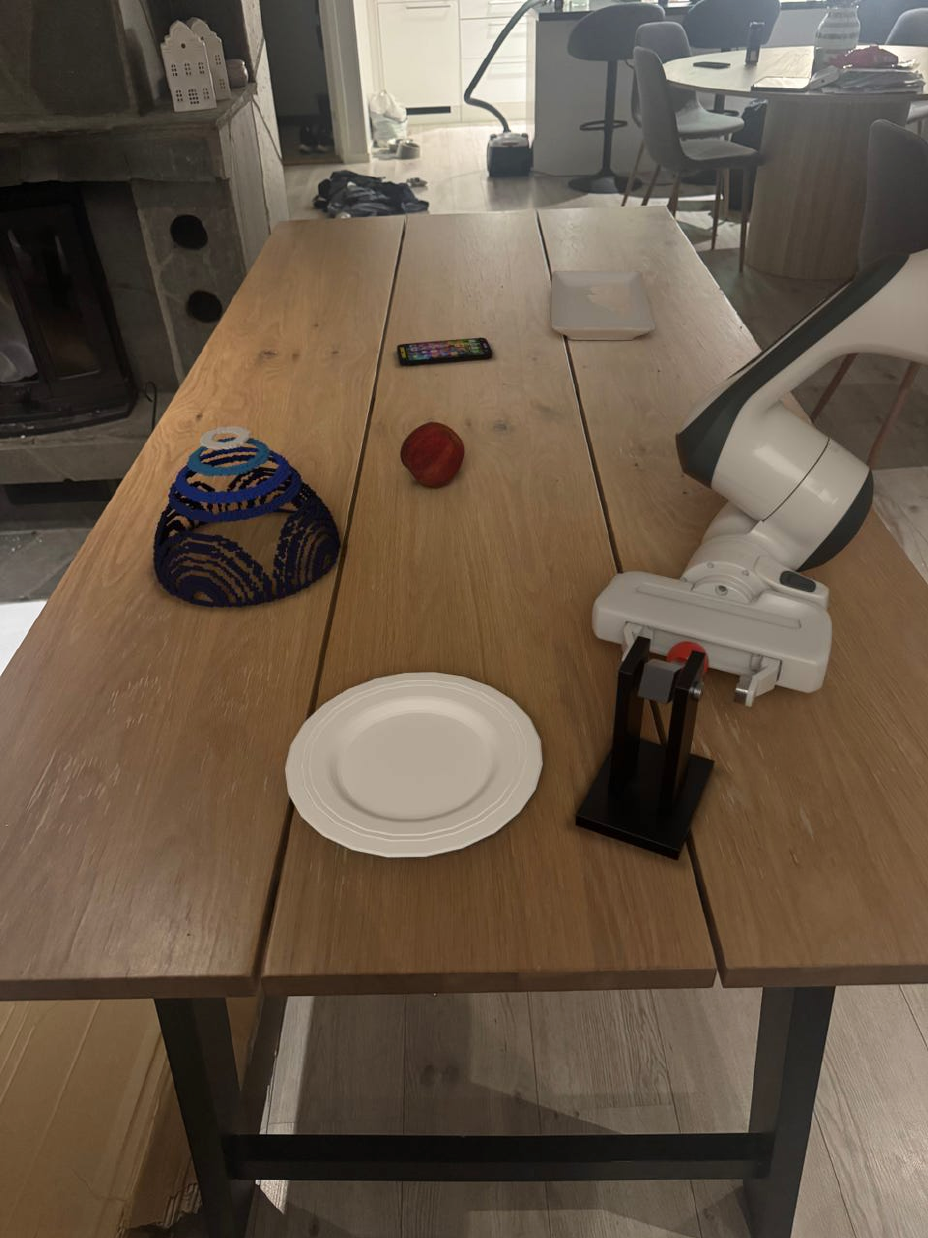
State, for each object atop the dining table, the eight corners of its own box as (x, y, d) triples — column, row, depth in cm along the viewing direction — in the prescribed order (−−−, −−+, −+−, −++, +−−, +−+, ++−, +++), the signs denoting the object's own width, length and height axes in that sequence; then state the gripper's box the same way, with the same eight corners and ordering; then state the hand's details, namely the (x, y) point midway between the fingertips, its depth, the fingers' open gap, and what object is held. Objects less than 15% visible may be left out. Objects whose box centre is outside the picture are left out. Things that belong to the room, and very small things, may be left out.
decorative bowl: (288, 621, 93) (265, 495, 85) (120, 590, 99) (82, 469, 90) (367, 523, 108) (354, 407, 100) (217, 501, 114) (193, 389, 105)
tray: (640, 287, 175) (642, 268, 173) (654, 347, 150) (656, 326, 148) (550, 288, 177) (551, 269, 174) (549, 347, 151) (550, 326, 149)
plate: (519, 675, 85) (519, 659, 84) (566, 854, 69) (567, 837, 67) (291, 699, 84) (288, 683, 82) (283, 889, 67) (279, 872, 66)
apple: (457, 500, 112) (454, 439, 107) (395, 495, 113) (390, 435, 109) (470, 471, 118) (468, 412, 113) (411, 467, 119) (406, 409, 114)
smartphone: (493, 353, 147) (399, 361, 146) (493, 359, 148) (400, 367, 146) (486, 336, 154) (395, 344, 152) (486, 342, 154) (396, 349, 153)
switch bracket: (618, 741, 78) (630, 609, 70) (713, 771, 75) (737, 635, 67) (575, 825, 71) (582, 688, 63) (677, 861, 68) (699, 722, 60)
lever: (666, 673, 77) (675, 633, 77) (707, 684, 76) (716, 644, 75) (626, 700, 65) (637, 654, 65) (673, 714, 64) (685, 667, 63)
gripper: (621, 541, 87) (566, 621, 78) (848, 590, 80) (820, 686, 70) (617, 596, 91) (564, 678, 81) (834, 648, 83) (805, 747, 74)
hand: (684, 683), depth 76 cm, fingers open, 8 cm apart
